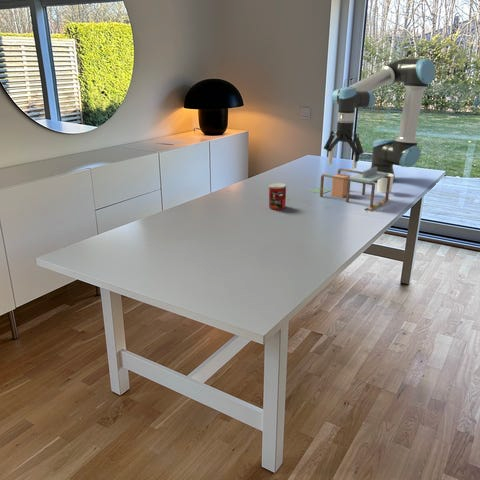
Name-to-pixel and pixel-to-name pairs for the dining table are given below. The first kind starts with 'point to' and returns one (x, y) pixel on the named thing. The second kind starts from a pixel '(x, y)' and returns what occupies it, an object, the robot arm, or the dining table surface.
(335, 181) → the block
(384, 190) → the white cup
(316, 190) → the felt pad
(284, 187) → the canned food
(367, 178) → the lid
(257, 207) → the dining table surface
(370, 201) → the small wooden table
